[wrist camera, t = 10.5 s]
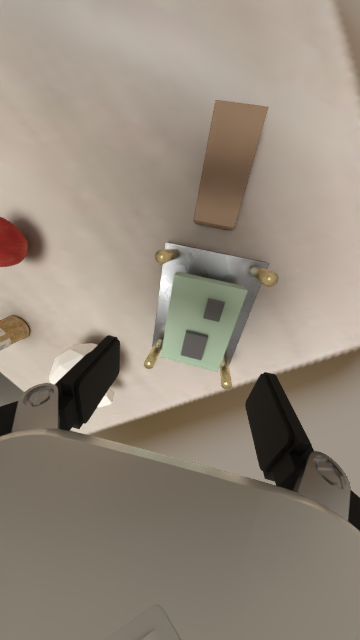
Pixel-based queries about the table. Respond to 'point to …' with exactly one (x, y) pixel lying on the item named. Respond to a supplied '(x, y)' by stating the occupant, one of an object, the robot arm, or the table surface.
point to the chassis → (213, 268)
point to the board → (201, 320)
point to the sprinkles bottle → (12, 331)
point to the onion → (11, 244)
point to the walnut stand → (228, 162)
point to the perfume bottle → (69, 360)
